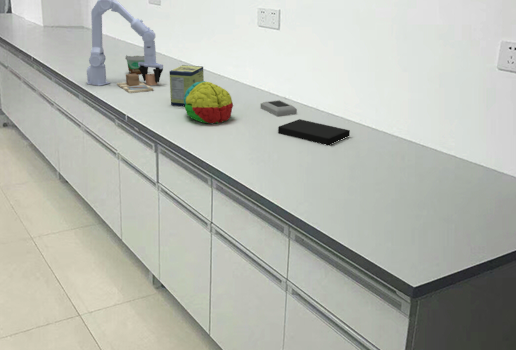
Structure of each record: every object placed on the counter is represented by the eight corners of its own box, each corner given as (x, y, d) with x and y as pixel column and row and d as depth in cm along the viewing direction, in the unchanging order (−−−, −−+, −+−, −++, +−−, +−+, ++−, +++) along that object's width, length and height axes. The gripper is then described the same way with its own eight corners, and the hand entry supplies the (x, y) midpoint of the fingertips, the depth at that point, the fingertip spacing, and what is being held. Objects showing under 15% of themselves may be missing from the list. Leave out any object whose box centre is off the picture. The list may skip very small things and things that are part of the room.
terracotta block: (145, 84, 309) (145, 74, 307) (154, 83, 311) (153, 73, 309) (148, 85, 305) (148, 75, 303) (157, 84, 307) (156, 75, 306)
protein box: (204, 99, 280) (203, 66, 274) (192, 107, 266) (191, 72, 260) (183, 97, 282) (182, 64, 277) (170, 105, 268) (168, 71, 263)
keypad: (279, 98, 268) (296, 106, 256) (279, 106, 270) (296, 114, 257) (260, 100, 264) (277, 108, 252) (260, 109, 266) (277, 117, 253)
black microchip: (328, 146, 217) (329, 138, 216) (278, 134, 231) (278, 126, 230) (349, 137, 228) (349, 130, 227) (299, 126, 241) (299, 119, 240)
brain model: (173, 113, 255) (173, 78, 249) (212, 107, 265) (212, 73, 259) (200, 129, 237) (200, 92, 231) (241, 122, 247) (242, 87, 241)
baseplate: (117, 85, 305) (116, 73, 303) (139, 82, 311) (139, 71, 309) (129, 93, 289) (128, 80, 287) (153, 90, 295) (152, 78, 293)
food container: (127, 75, 328) (125, 57, 324) (126, 73, 333) (125, 55, 330) (149, 74, 331) (148, 56, 327) (148, 72, 336) (147, 54, 333)
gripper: (133, 54, 303) (135, 81, 308) (156, 57, 296) (157, 84, 301) (142, 52, 308) (144, 78, 313) (165, 55, 302) (166, 81, 307)
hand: (151, 81), depth 308 cm, fingers open, 7 cm apart
